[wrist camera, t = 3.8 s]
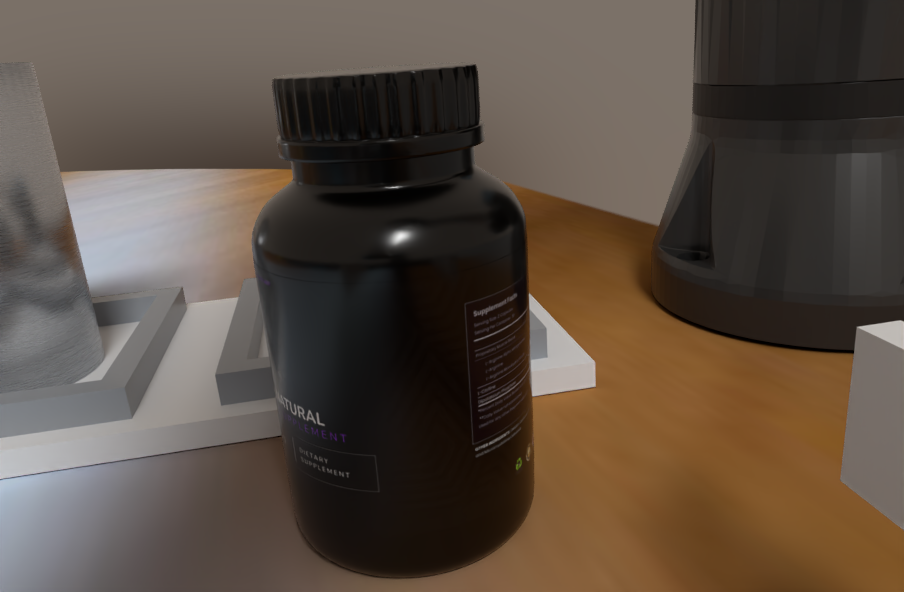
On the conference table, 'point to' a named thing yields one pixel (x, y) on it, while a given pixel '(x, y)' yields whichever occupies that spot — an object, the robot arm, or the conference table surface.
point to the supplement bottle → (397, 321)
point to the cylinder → (38, 252)
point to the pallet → (192, 383)
